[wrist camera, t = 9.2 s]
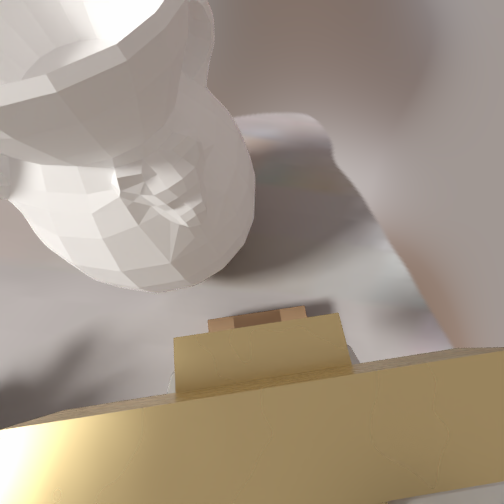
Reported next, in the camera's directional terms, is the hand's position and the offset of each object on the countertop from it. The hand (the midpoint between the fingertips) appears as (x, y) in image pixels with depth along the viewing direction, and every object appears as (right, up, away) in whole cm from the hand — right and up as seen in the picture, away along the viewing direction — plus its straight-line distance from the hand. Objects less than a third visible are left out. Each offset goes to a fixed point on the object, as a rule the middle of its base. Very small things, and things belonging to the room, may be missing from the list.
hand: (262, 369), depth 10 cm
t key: (0, -3, +6) cm, 7 cm away
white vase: (-9, +7, +24) cm, 26 cm away
